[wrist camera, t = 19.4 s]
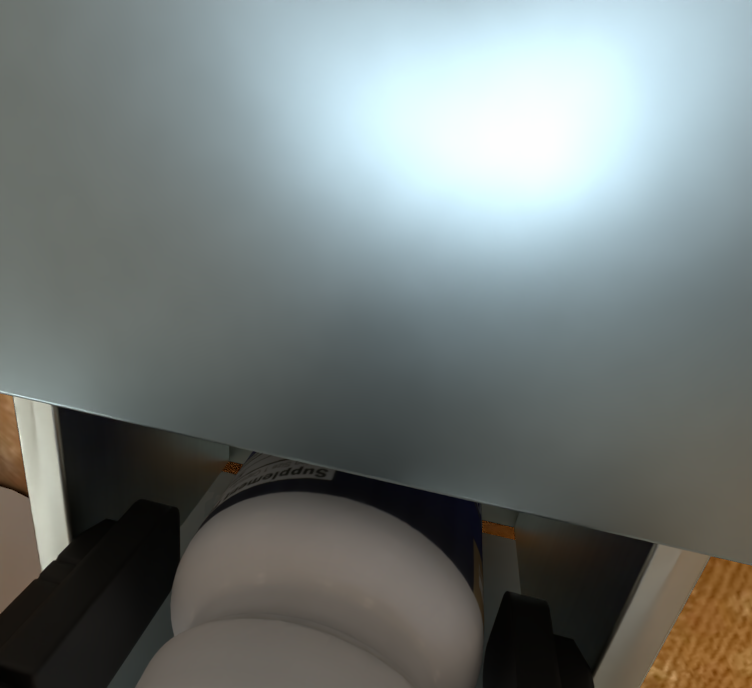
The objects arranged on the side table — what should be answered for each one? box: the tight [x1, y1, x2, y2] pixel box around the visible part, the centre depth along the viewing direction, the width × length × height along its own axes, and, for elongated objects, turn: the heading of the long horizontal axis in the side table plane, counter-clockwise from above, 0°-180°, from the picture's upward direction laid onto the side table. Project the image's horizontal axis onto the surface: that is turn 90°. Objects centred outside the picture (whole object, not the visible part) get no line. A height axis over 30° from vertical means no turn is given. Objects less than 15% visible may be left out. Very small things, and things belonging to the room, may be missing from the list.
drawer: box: [13, 396, 711, 688], centre depth 13 cm, size 21×13×8 cm, turn 172°
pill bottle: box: [135, 451, 484, 688], centre depth 11 cm, size 6×6×10 cm
